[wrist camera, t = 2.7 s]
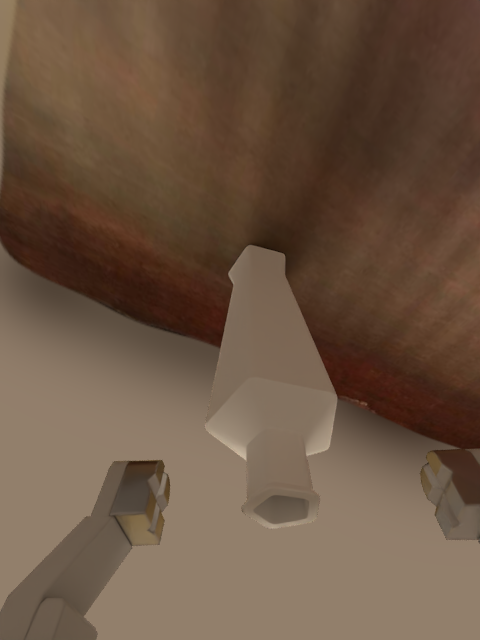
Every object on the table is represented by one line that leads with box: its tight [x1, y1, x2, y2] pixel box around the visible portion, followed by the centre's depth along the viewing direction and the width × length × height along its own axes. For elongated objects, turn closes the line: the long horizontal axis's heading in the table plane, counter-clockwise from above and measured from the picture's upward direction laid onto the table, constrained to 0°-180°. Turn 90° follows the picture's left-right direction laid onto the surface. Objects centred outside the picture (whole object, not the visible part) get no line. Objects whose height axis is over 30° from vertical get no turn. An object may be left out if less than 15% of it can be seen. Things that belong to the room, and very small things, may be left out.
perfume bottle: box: [205, 245, 337, 529], centre depth 15 cm, size 5×4×15 cm
